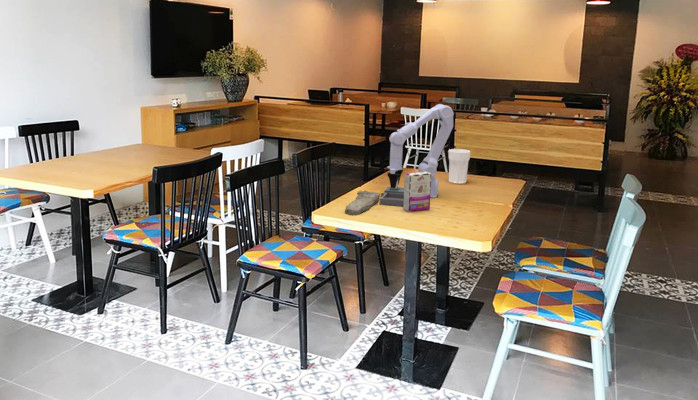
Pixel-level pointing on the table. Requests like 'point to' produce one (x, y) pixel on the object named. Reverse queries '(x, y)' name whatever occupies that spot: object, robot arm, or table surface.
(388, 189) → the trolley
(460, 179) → the cup
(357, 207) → the elongated rock
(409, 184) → the candy bar box
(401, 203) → the tray
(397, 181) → the pin
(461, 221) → the table surface
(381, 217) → the table surface
